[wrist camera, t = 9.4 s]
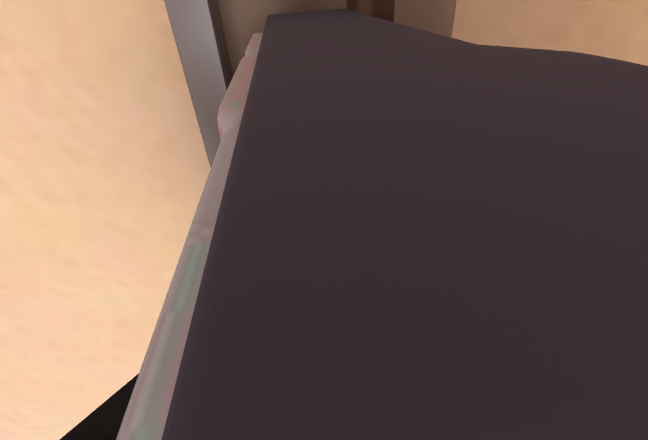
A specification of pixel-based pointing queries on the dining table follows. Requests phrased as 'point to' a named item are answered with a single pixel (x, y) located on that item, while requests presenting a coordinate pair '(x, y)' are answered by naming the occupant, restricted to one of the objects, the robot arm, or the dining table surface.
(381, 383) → the calculator
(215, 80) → the wooden channel stand
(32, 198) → the dining table surface
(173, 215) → the dining table surface
